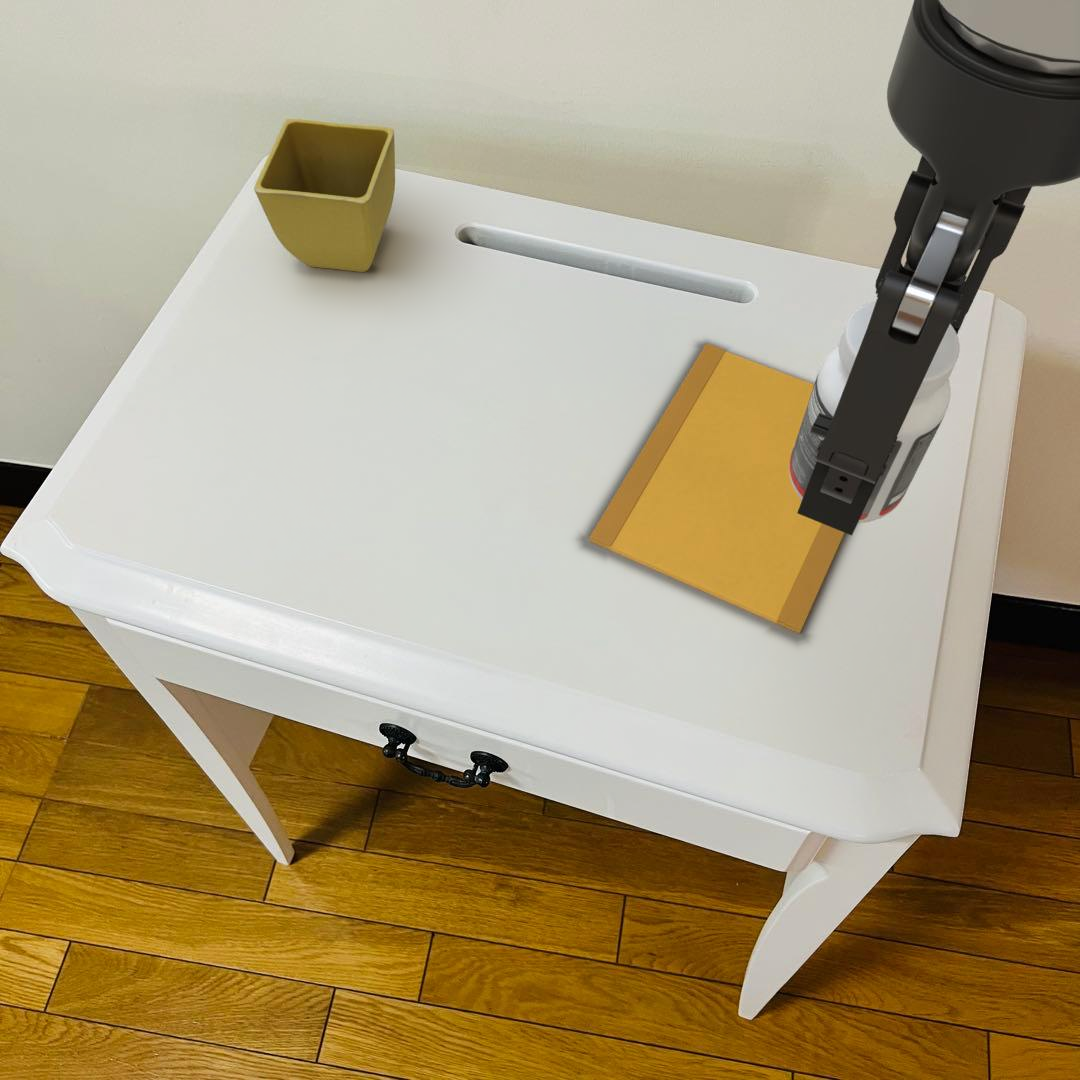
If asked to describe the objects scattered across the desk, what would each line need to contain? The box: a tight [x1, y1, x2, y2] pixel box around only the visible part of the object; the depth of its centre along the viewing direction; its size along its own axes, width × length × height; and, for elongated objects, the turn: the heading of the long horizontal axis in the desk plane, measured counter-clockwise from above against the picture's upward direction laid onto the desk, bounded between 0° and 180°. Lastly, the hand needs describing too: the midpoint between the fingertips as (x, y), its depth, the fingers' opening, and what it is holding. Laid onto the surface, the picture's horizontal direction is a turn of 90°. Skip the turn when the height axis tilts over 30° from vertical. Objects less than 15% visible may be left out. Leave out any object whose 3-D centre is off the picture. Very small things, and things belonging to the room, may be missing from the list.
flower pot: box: [253, 118, 396, 273], centre depth 82 cm, size 9×9×9 cm
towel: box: [589, 343, 845, 634], centre depth 73 cm, size 15×20×1 cm
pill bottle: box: [789, 299, 961, 524], centre depth 47 cm, size 6×6×10 cm
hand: (849, 469), depth 51 cm, fingers closed on pill bottle, 6 cm apart
